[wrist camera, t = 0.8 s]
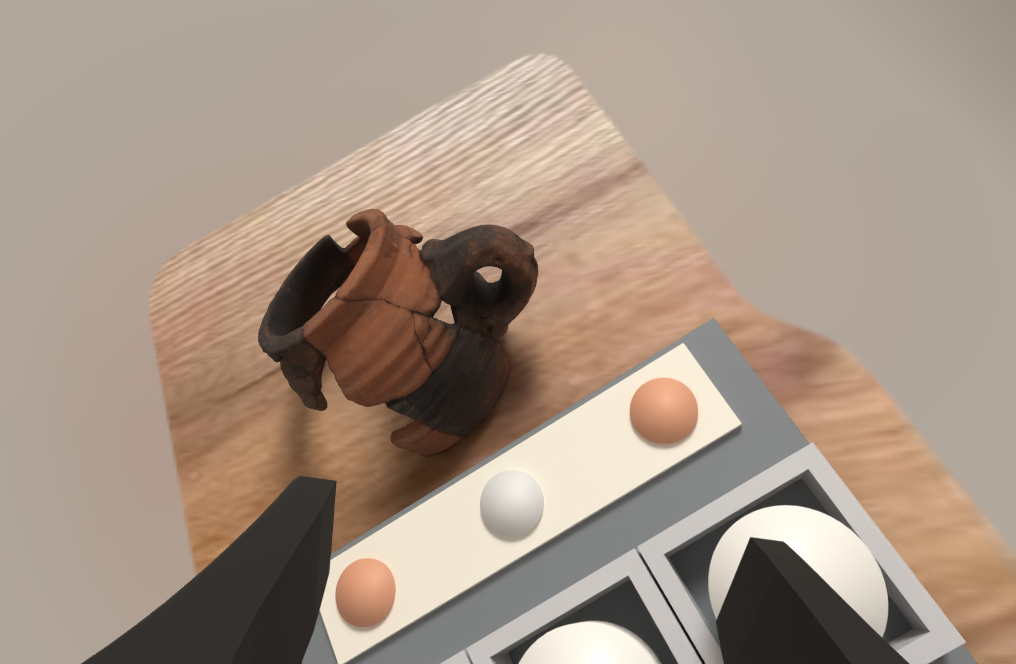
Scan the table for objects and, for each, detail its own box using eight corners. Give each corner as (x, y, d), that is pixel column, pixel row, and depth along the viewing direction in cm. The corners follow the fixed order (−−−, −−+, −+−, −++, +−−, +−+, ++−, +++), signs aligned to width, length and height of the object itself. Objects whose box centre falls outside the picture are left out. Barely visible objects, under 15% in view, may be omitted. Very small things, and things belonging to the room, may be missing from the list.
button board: (978, 685, 21) (1028, 704, 18) (440, 982, 23) (386, 1056, 19) (714, 335, 27) (712, 297, 24) (306, 586, 29) (246, 586, 25)
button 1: (909, 625, 19) (928, 629, 17) (770, 704, 19) (774, 716, 17) (806, 485, 21) (813, 475, 19) (681, 559, 21) (676, 556, 19)
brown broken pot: (378, 508, 30) (218, 412, 25) (388, 362, 37) (265, 268, 32) (608, 369, 26) (465, 226, 21) (568, 236, 33) (456, 109, 28)
